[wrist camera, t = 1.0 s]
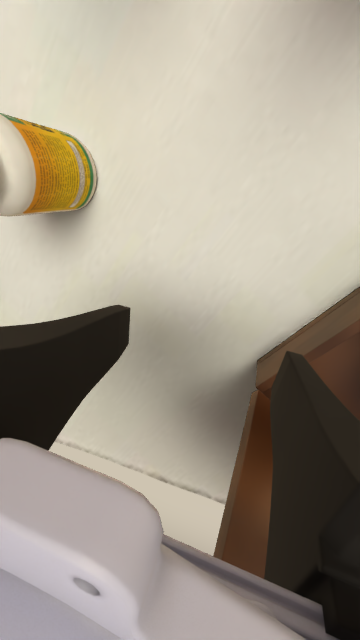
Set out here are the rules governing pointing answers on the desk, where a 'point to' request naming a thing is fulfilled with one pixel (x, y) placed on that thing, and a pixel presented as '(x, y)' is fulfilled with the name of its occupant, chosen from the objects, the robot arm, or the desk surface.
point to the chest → (324, 352)
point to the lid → (249, 494)
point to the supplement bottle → (42, 169)
